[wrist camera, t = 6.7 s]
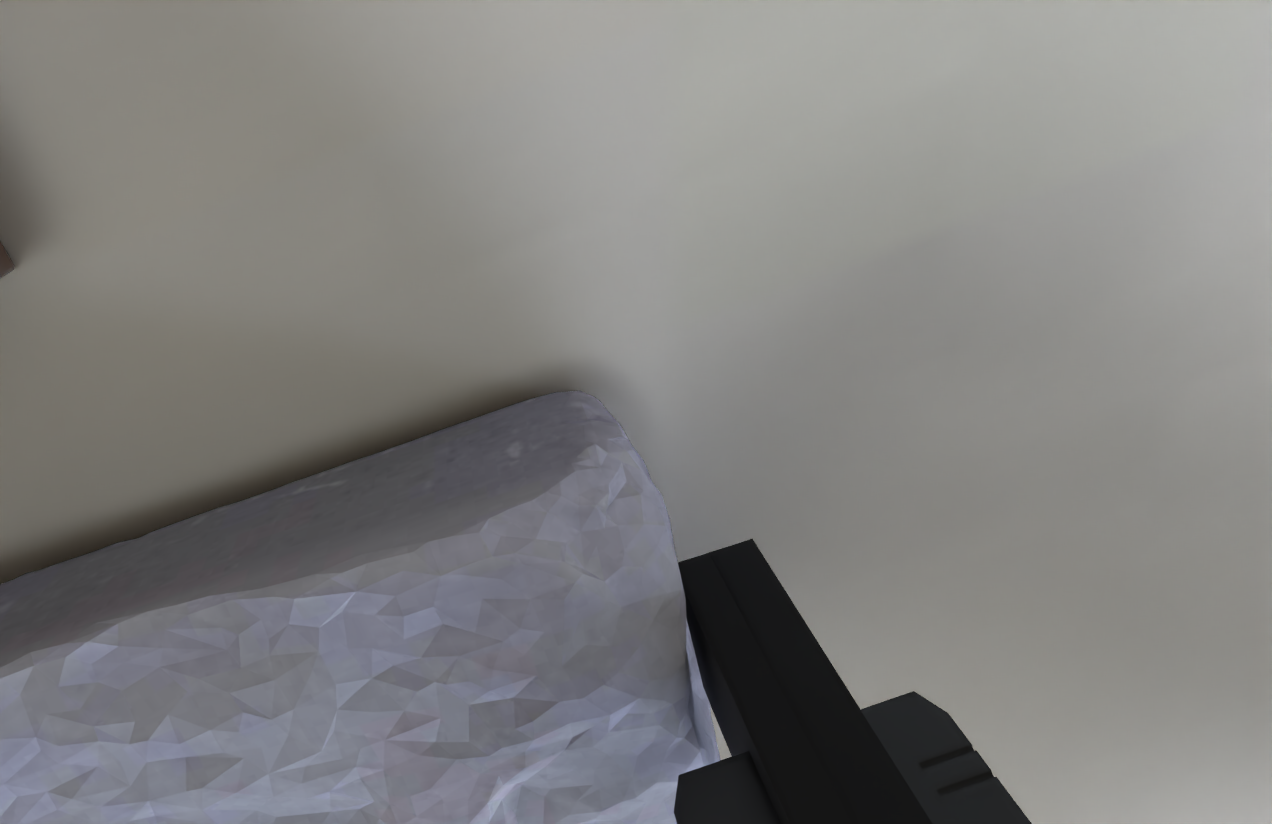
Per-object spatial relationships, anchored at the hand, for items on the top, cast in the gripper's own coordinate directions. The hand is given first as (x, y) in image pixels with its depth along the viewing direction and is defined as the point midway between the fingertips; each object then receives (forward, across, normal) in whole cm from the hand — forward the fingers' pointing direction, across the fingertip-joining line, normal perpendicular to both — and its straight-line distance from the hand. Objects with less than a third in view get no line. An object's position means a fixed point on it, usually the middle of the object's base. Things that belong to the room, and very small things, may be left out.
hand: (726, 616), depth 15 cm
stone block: (+2, +6, +1) cm, 7 cm away
